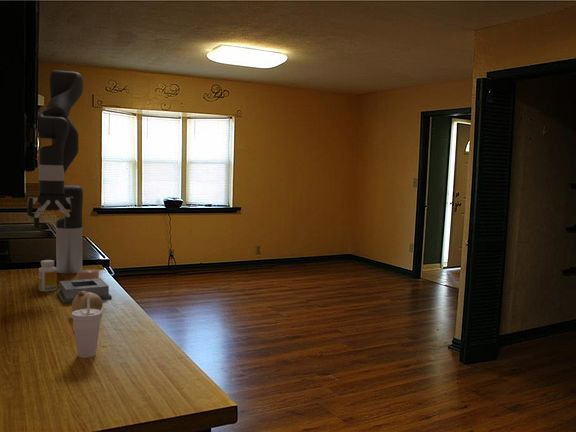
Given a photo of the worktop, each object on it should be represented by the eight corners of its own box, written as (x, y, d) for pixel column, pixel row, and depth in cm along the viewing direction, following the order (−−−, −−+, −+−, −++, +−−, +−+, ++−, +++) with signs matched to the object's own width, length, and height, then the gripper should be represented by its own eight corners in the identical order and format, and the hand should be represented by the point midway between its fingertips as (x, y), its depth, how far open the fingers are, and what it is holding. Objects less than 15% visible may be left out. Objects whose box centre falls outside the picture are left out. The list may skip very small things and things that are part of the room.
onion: (85, 310, 152) (85, 285, 151) (108, 313, 149) (108, 288, 149) (65, 317, 144) (65, 291, 144) (89, 320, 142) (89, 295, 141)
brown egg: (75, 284, 183) (75, 270, 183) (96, 282, 187) (96, 268, 186) (79, 288, 177) (79, 273, 177) (100, 286, 181) (100, 272, 180)
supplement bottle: (59, 288, 176) (59, 259, 175) (51, 292, 170) (50, 262, 170) (44, 287, 176) (44, 259, 175) (35, 291, 171) (35, 261, 170)
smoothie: (83, 362, 112) (83, 298, 111) (64, 355, 115) (64, 293, 114) (108, 354, 117) (108, 292, 116) (89, 347, 121) (89, 288, 120)
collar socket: (56, 293, 169) (56, 281, 169) (102, 289, 177) (102, 277, 176) (63, 303, 157) (63, 290, 157) (111, 298, 165) (111, 286, 164)
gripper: (72, 178, 177) (72, 226, 178) (25, 178, 169) (26, 228, 171) (77, 180, 170) (77, 229, 172) (28, 179, 163) (29, 231, 164)
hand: (51, 228), depth 171 cm, fingers open, 8 cm apart
